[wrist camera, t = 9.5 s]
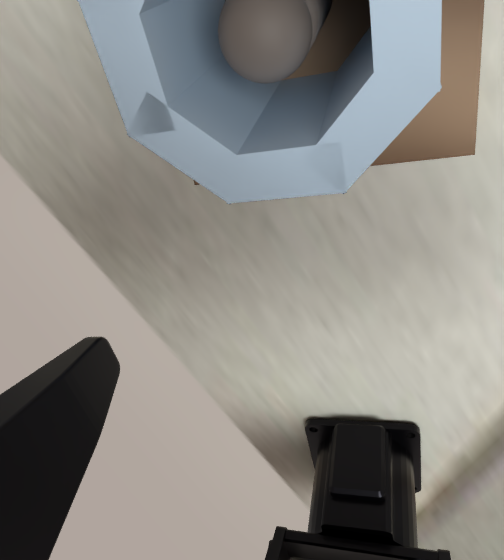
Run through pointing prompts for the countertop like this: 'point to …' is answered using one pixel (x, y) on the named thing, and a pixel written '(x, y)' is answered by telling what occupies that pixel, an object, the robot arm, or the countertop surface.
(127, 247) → the countertop surface
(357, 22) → the roll holder
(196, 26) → the blue roll
